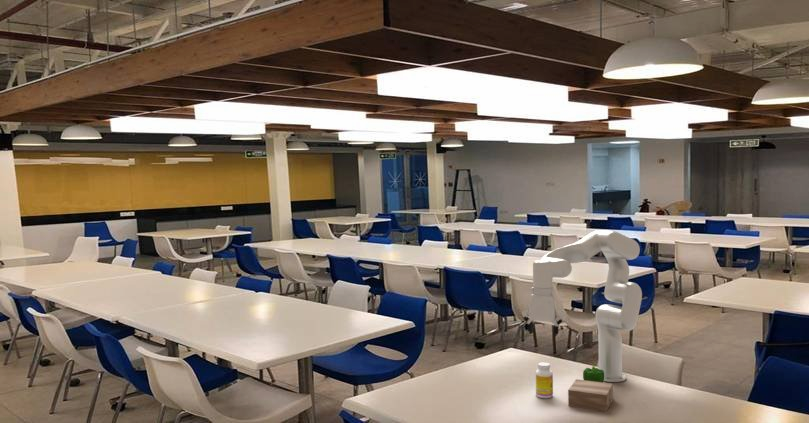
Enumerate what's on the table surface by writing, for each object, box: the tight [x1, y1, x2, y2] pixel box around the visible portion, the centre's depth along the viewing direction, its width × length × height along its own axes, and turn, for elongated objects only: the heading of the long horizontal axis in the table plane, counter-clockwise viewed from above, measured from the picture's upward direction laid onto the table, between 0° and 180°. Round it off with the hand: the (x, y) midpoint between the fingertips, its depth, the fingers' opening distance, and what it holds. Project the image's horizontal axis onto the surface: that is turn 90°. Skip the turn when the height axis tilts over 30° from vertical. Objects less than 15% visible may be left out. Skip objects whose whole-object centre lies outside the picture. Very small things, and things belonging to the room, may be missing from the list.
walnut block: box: [567, 378, 614, 412], centre depth 237 cm, size 14×14×6 cm
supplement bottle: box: [535, 361, 554, 399], centre depth 245 cm, size 7×7×13 cm
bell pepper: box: [582, 365, 605, 383], centre depth 252 cm, size 8×8×10 cm
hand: (543, 334), depth 245 cm, fingers open, 9 cm apart
